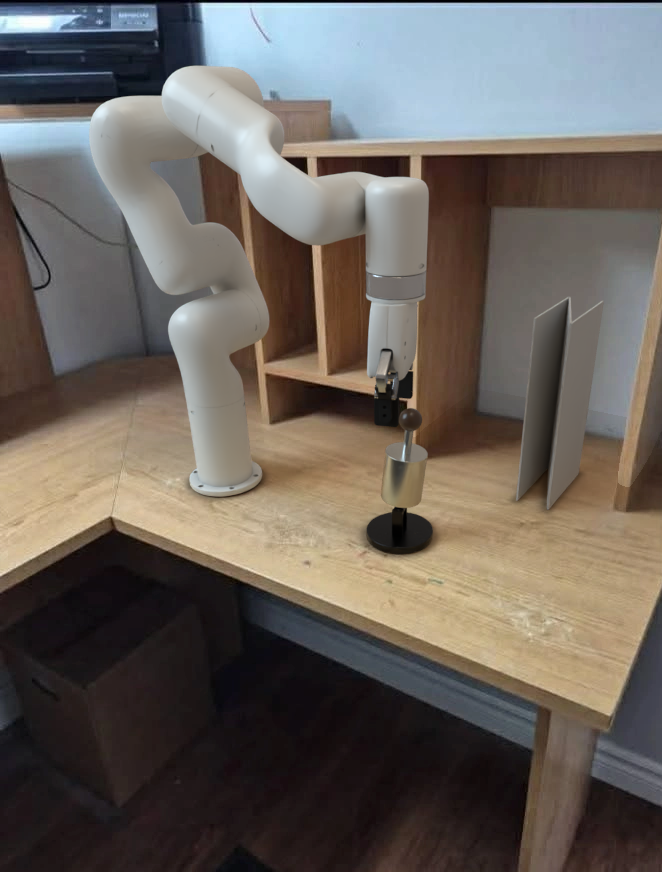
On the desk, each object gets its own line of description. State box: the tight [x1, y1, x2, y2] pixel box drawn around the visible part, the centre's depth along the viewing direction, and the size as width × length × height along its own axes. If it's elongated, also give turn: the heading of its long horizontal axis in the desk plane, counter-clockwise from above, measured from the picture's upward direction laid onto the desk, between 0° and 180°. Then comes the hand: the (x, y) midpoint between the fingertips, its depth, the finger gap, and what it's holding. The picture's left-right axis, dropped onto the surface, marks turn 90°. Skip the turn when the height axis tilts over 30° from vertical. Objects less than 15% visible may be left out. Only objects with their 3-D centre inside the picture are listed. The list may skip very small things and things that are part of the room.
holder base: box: [365, 508, 434, 555], centre depth 103 cm, size 10×10×5 cm
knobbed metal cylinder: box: [380, 407, 429, 513], centre depth 98 cm, size 17×6×6 cm
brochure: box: [515, 296, 605, 511], centre depth 109 cm, size 14×6×30 cm, turn 145°
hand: (394, 410), depth 95 cm, fingers open, 9 cm apart
